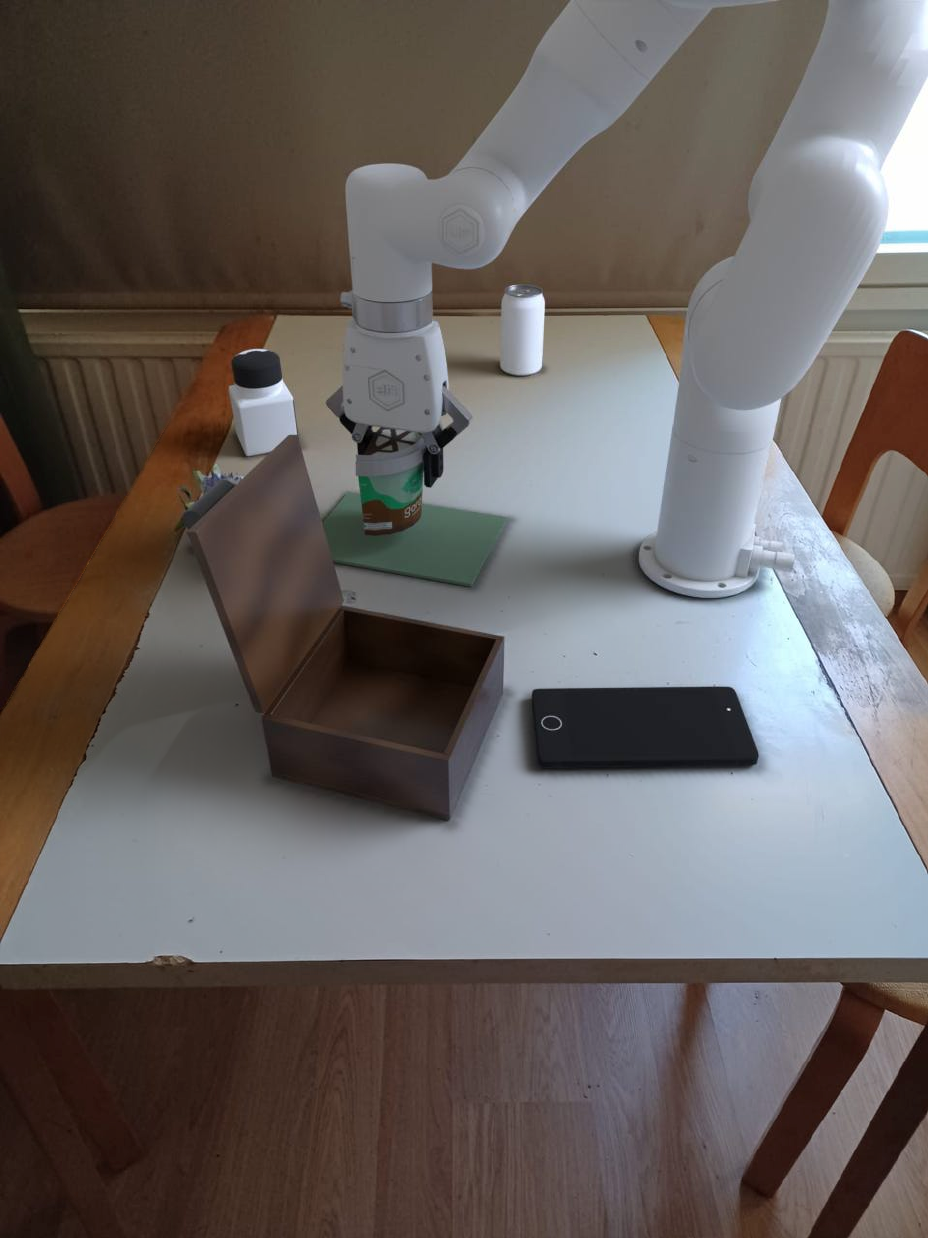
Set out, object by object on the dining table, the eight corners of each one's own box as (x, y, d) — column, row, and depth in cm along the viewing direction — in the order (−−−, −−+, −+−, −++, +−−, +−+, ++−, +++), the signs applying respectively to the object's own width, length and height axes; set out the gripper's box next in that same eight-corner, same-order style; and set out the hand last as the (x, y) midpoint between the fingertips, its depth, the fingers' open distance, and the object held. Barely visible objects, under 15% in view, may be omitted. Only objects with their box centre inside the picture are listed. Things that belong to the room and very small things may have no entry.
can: (494, 363, 142) (495, 285, 135) (533, 358, 144) (536, 281, 136) (508, 379, 137) (510, 299, 130) (548, 373, 139) (552, 294, 132)
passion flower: (267, 593, 103) (261, 555, 92) (168, 579, 102) (151, 539, 90) (281, 502, 106) (278, 455, 95) (187, 489, 105) (172, 439, 94)
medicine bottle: (300, 448, 120) (289, 360, 112) (246, 457, 118) (231, 368, 110) (288, 426, 125) (276, 340, 118) (236, 434, 123) (221, 348, 116)
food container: (417, 549, 95) (414, 463, 89) (360, 542, 96) (354, 457, 90) (443, 491, 105) (441, 410, 99) (391, 486, 106) (387, 405, 100)
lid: (297, 434, 72) (240, 435, 73) (196, 532, 60) (130, 530, 62) (344, 601, 81) (292, 598, 82) (264, 714, 69) (205, 708, 71)
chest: (503, 693, 81) (504, 636, 77) (449, 820, 70) (448, 761, 66) (347, 661, 85) (340, 604, 81) (272, 777, 73) (260, 717, 69)
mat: (507, 520, 105) (507, 517, 105) (471, 587, 94) (471, 584, 94) (348, 494, 110) (347, 491, 110) (297, 555, 99) (296, 552, 99)
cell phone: (530, 696, 81) (531, 688, 80) (732, 693, 81) (734, 685, 80) (538, 769, 74) (538, 761, 73) (758, 766, 74) (761, 758, 73)
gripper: (293, 312, 86) (312, 481, 97) (468, 332, 82) (467, 506, 92) (326, 288, 91) (341, 450, 102) (491, 306, 87) (488, 472, 98)
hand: (401, 475), depth 97 cm, fingers closed on food container, 6 cm apart
